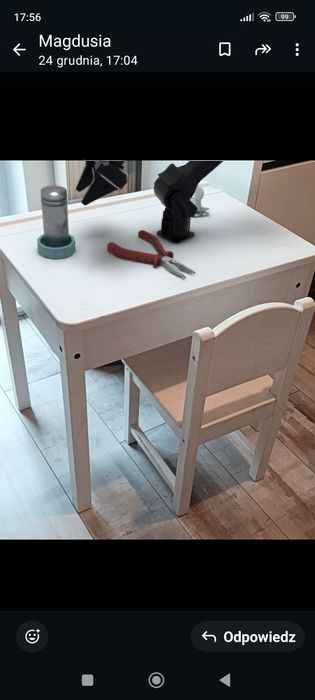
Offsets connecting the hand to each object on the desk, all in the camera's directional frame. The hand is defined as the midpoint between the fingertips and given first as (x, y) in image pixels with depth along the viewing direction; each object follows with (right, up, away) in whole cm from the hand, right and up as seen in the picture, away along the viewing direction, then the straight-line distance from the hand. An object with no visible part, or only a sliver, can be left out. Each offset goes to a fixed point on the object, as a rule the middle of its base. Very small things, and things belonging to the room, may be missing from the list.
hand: (80, 197), depth 117 cm
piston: (-6, -10, +6) cm, 12 cm away
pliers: (+14, -13, +5) cm, 19 cm away
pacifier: (+25, +3, +25) cm, 35 cm away
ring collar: (-6, -10, +6) cm, 13 cm away
